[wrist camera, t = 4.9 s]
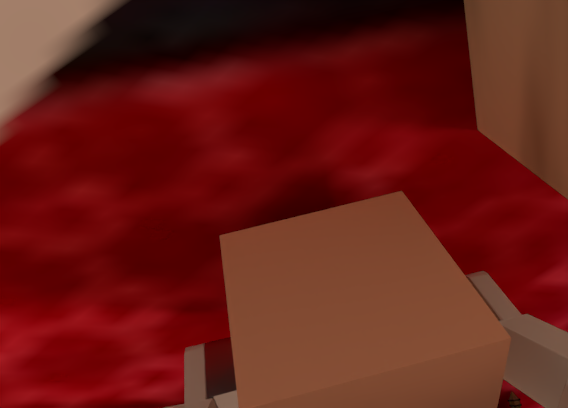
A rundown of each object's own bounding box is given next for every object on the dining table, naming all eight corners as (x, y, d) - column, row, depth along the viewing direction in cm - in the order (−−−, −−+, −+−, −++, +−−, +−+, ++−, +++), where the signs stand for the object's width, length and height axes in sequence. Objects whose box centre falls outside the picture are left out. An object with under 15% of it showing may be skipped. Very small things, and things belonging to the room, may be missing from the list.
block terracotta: (401, 190, 12) (511, 337, 8) (403, 314, 15) (485, 468, 11) (219, 235, 12) (239, 410, 8) (256, 352, 15) (284, 525, 11)
